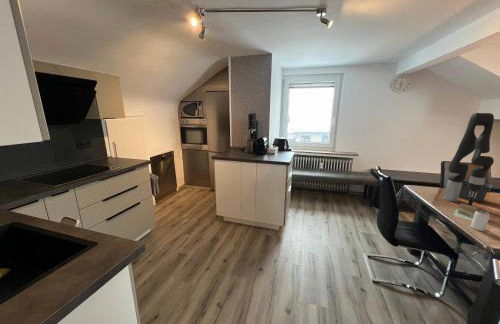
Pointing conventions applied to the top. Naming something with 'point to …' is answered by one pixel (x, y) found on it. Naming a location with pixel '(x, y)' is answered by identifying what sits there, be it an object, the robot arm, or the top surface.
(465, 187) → the storage bin
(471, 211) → the tile
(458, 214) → the mat
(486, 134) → the robot arm
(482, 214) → the can
